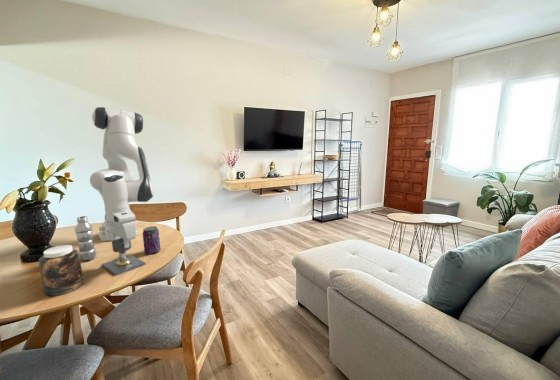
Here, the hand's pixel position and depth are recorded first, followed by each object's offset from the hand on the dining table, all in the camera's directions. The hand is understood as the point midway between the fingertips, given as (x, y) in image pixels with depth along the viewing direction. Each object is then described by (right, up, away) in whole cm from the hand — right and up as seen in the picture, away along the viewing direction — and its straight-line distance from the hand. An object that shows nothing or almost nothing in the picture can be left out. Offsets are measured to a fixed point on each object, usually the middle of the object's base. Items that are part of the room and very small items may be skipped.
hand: (122, 245), depth 114 cm
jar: (-12, -13, -15) cm, 23 cm away
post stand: (0, -9, +2) cm, 9 cm away
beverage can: (+6, -7, +16) cm, 18 cm away
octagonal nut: (0, -2, 0) cm, 2 cm away
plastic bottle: (-20, -8, +8) cm, 23 cm away
